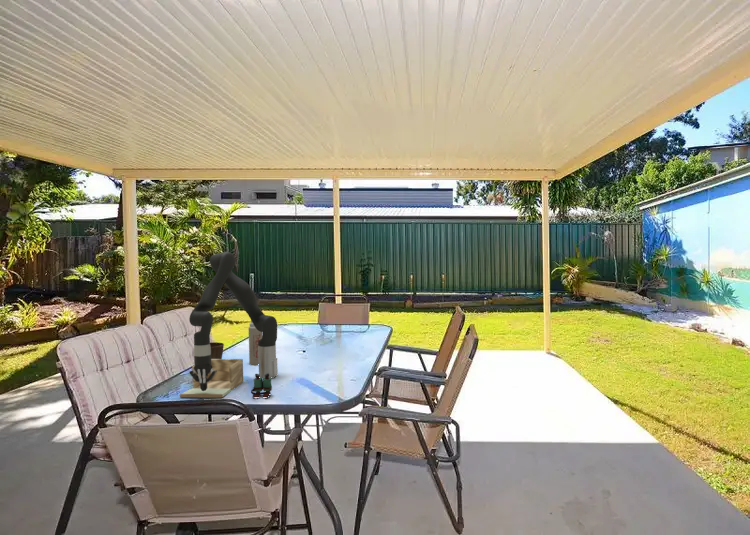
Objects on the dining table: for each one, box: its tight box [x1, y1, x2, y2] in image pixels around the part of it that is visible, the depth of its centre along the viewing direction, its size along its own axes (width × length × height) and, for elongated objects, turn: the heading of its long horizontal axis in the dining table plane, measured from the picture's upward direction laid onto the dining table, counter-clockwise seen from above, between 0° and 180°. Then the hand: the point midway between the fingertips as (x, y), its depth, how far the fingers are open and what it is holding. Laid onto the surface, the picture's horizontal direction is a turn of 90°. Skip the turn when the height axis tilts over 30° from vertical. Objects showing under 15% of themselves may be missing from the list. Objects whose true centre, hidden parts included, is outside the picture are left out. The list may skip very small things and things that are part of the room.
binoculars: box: [250, 373, 273, 398], centre depth 234 cm, size 9×11×10 cm
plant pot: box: [210, 341, 225, 359], centre depth 281 cm, size 15×15×16 cm
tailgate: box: [179, 387, 232, 399], centre depth 239 cm, size 20×1×12 cm
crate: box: [191, 358, 244, 391], centre depth 255 cm, size 20×16×12 cm
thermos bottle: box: [248, 320, 263, 366], centre depth 302 cm, size 8×8×28 cm
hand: (203, 390), depth 237 cm, fingers closed
